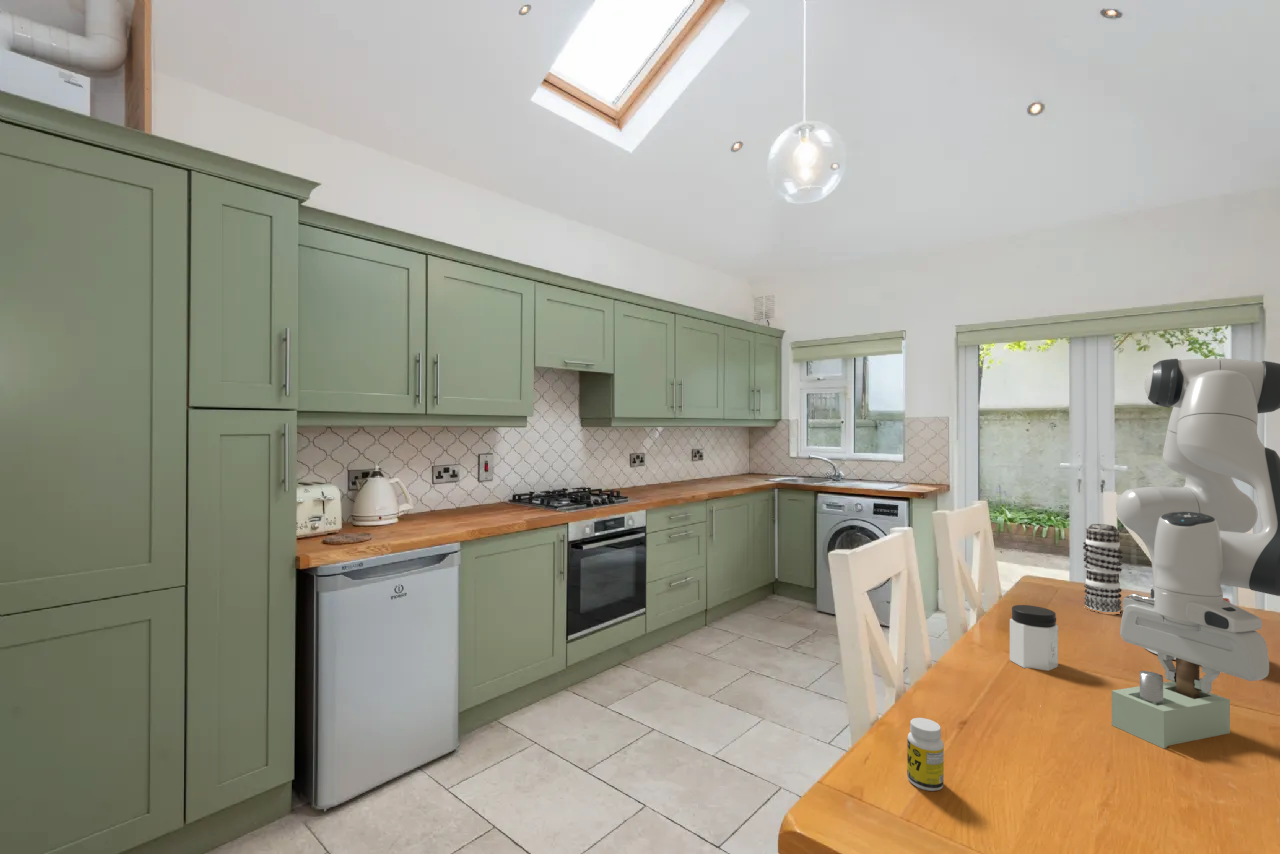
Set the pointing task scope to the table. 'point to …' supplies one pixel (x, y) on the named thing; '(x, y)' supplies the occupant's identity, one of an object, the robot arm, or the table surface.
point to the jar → (1034, 637)
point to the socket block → (1170, 716)
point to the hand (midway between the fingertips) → (1187, 685)
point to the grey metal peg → (1151, 687)
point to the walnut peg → (1186, 678)
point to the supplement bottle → (925, 755)
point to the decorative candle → (1102, 568)
